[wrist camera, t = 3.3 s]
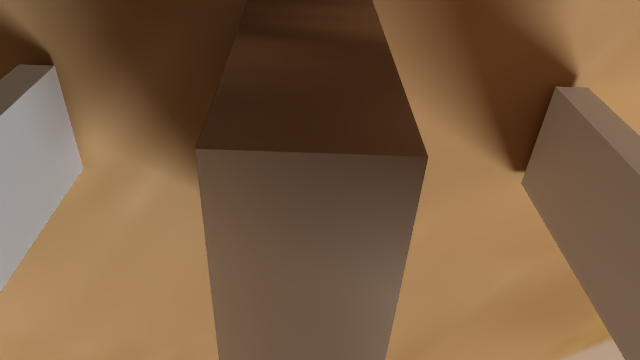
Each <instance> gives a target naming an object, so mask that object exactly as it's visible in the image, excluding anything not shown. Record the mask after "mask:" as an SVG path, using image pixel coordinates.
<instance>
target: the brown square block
mask: <svg viewBox="0 0 640 360" xmlns="http://www.w3.org/2000/svg"><path fill="white" fill-rule="evenodd" d="M195 153H196V162H197V170H198V179H199V188H200V197H201V206H202V214H203V223H204V232H205V241H206V249H207V258H208V267H209V276H210V284H211V293H212V302H213V311H214V320H215V328H216V337H217V346H218V355H219V360H385V358H386V353H387V348H388V344H389V339H390V334H391V330H392V325H393V320H394V316H395V311H396V306H397V301H398V297H399V292H400V287H401V283H402V278H403V273H404V268H405V264H406V259H407V254H408V250H409V245H410V240H411V235H412V231H413V226H414V221H415V217H416V212H417V207H418V203H419V198H420V193H421V188H422V184H423V179H424V174H425V170H426V165H427V160H428V155H427V152H426V149H425V147H424V144H423V141H422V138H421V135H420V133H419V130H418V127H417V124H416V121H415V119H414V116H413V113H412V110H411V107H410V105H409V102H408V99H407V96H406V94H405V91H404V88H403V85H402V82H401V80H400V77H399V74H398V71H397V68H396V66H395V63H394V60H393V57H392V54H391V52H390V49H389V46H388V43H387V40H386V38H385V35H384V32H383V29H382V26H381V24H380V21H379V18H378V15H377V13H376V10H375V7H374V4H373V1H372V0H249V1H248V3H247V6H246V9H245V12H244V14H243V17H242V20H241V23H240V26H239V28H238V31H237V34H236V37H235V39H234V42H233V45H232V48H231V50H230V53H229V56H228V59H227V62H226V64H225V67H224V70H223V73H222V75H221V78H220V81H219V84H218V87H217V89H216V92H215V95H214V98H213V100H212V103H211V106H210V109H209V111H208V114H207V117H206V120H205V123H204V125H203V128H202V131H201V134H200V136H199V139H198V142H197V145H196V148H195Z"/></svg>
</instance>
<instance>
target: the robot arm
mask: <svg viewBox="0 0 640 360" xmlns="http://www.w3.org/2000/svg"><path fill="white" fill-rule="evenodd" d="M82 170H83V166H82V162H81V159H80V155H79V152H78V148H77V144H76V141H75V137H74V134H73V130H72V126H71V123H70V119H69V116H68V112H67V108H66V105H65V101H64V98H63V94H62V90H61V87H60V83H59V80H58V76H57V72H56V69H55V66H49V65H24V64H19V65H18V66H17V67H15V68H14V69H13V70H12V71H10V72H9V73H8V74H7V75H5V76H4V77H3V78H2V79H0V292H1V290H2V289H3V287H4V286H5V284H6V283H7V281H8V280H9V278H10V277H11V275H12V274H13V272H14V271H15V270H16V268H17V267H18V265H19V264H20V262H21V261H22V259H23V258H24V256H25V255H26V253H27V252H28V250H29V249H30V247H31V246H32V244H33V243H34V241H35V240H36V238H37V237H38V235H39V234H40V232H41V231H42V229H43V228H44V226H45V225H46V223H47V222H48V220H49V219H50V217H51V216H52V214H53V213H54V211H55V210H56V209H57V207H58V206H59V204H60V203H61V201H62V200H63V198H64V197H65V195H66V194H67V192H68V191H69V189H70V188H71V186H72V185H73V183H74V182H75V180H76V179H77V177H78V176H79V174H80V173H81V171H82ZM521 184H522V185H523V187H524V189H525V191H526V192H527V194H528V196H529V197H530V199H531V201H532V202H533V204H534V206H535V208H536V209H537V211H538V213H539V214H540V216H541V218H542V219H543V221H544V223H545V224H546V226H547V228H548V230H549V231H550V233H551V235H552V236H553V238H554V240H555V241H556V243H557V245H558V247H559V248H560V250H561V252H562V253H563V255H564V257H565V258H566V260H567V262H568V263H569V265H570V267H571V269H572V270H573V272H574V274H575V275H576V277H577V279H578V280H579V282H580V284H581V286H582V287H583V289H584V291H585V292H586V294H587V296H588V297H589V299H590V301H591V303H592V304H593V306H594V308H595V309H596V311H597V313H598V314H599V316H600V318H601V319H602V321H603V323H604V325H605V326H606V328H607V330H608V331H609V333H610V335H611V336H612V338H613V340H614V342H615V343H616V345H617V346H618V348H619V350H620V352H621V353H622V355H623V357H624V358H625V360H640V136H639V135H638V134H637V133H636V132H635V131H634V130H632V129H631V128H630V127H629V126H628V125H627V124H626V123H625V122H624V121H623V120H622V119H621V118H620V117H619V116H618V115H616V114H615V113H614V112H613V111H612V110H611V109H610V108H609V107H608V106H607V105H606V104H605V103H604V102H603V101H602V100H601V99H599V98H598V97H597V96H596V95H595V94H594V93H593V92H592V91H591V90H590V89H589V88H579V87H555V90H554V93H553V95H552V98H551V101H550V104H549V107H548V109H547V112H546V115H545V118H544V121H543V124H542V126H541V129H540V132H539V135H538V138H537V140H536V143H535V146H534V149H533V152H532V154H531V157H530V160H529V163H528V166H527V169H526V171H525V174H524V177H523V180H522V183H521Z"/></svg>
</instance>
